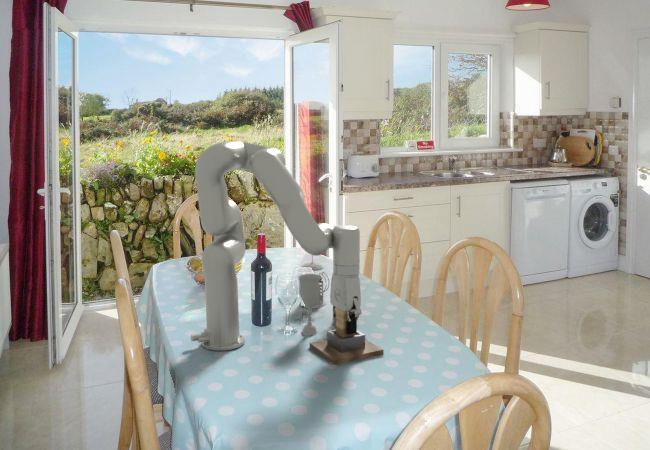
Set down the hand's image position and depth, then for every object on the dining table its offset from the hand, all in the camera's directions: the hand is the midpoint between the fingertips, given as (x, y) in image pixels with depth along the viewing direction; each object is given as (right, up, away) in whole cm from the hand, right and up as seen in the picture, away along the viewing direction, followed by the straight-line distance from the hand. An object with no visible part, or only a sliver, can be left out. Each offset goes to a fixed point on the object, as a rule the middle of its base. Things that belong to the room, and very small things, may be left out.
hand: (346, 329), depth 183 cm
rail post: (0, -5, +1) cm, 5 cm away
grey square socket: (0, -5, +1) cm, 5 cm away
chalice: (-11, -4, +17) cm, 20 cm away
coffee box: (0, -2, +27) cm, 27 cm away
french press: (-10, +1, +45) cm, 46 cm away
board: (0, -6, +1) cm, 6 cm away
